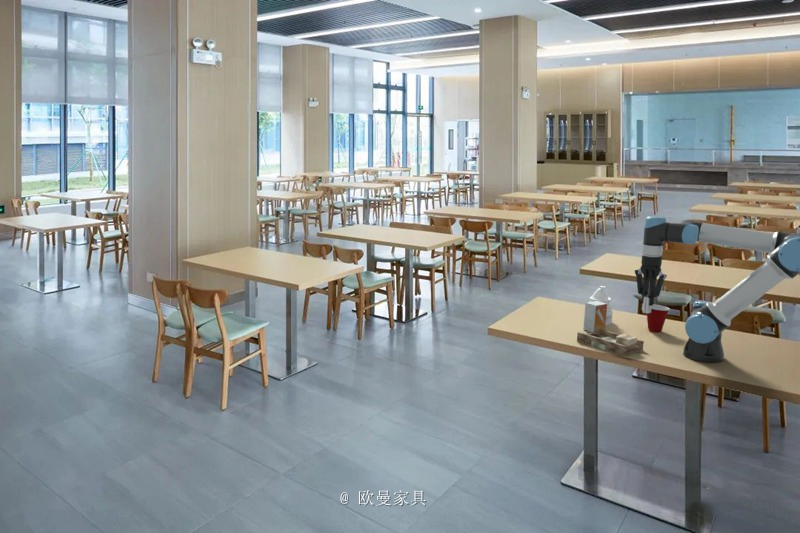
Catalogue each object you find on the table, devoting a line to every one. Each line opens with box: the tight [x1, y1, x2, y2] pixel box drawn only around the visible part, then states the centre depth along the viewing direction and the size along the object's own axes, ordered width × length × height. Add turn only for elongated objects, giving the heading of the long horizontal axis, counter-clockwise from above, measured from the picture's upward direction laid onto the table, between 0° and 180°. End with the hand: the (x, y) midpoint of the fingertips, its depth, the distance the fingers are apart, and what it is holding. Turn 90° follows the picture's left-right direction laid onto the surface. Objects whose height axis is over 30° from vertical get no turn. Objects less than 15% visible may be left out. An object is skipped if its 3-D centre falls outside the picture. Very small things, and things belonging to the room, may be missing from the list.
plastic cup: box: [646, 303, 671, 334], centre depth 297 cm, size 11×11×12 cm
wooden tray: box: [576, 328, 645, 357], centre depth 275 cm, size 24×13×4 cm, turn 37°
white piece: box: [588, 285, 614, 326], centre depth 310 cm, size 13×13×18 cm
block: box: [616, 333, 638, 349], centre depth 268 cm, size 6×6×4 cm
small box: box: [583, 301, 607, 333], centre depth 296 cm, size 8×6×13 cm
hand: (646, 312), depth 259 cm, fingers closed
